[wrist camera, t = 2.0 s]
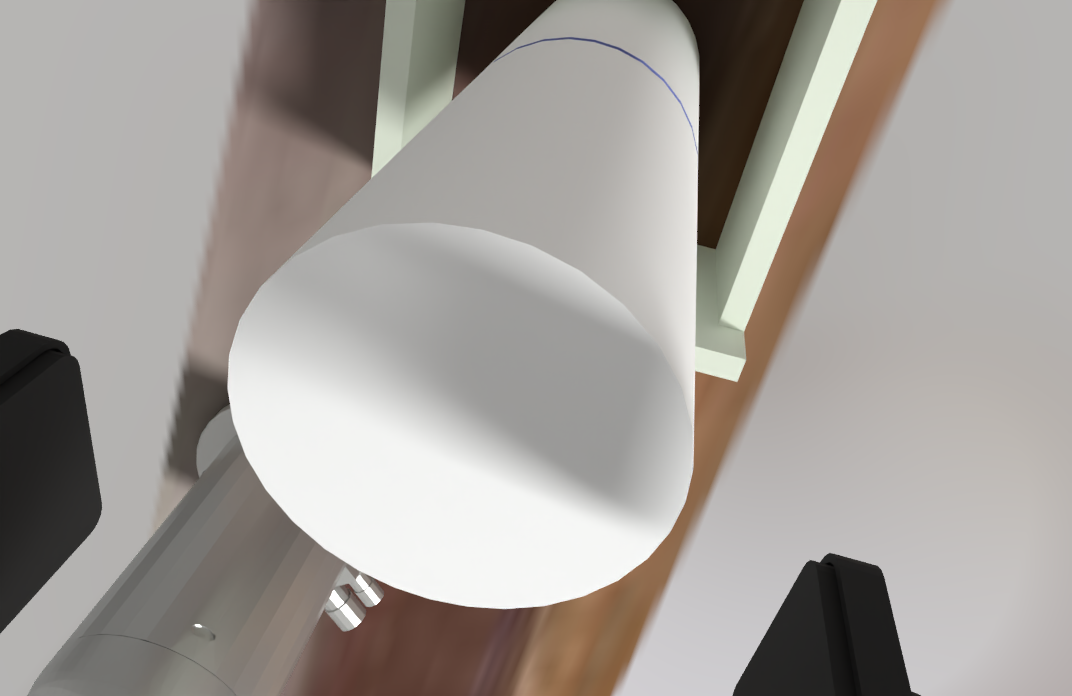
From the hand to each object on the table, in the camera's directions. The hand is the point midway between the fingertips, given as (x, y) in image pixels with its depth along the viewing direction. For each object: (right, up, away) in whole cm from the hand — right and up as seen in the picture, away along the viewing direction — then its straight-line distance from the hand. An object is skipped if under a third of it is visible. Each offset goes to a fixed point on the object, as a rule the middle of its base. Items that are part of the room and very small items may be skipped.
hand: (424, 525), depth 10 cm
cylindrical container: (+5, +14, +23) cm, 27 cm away
